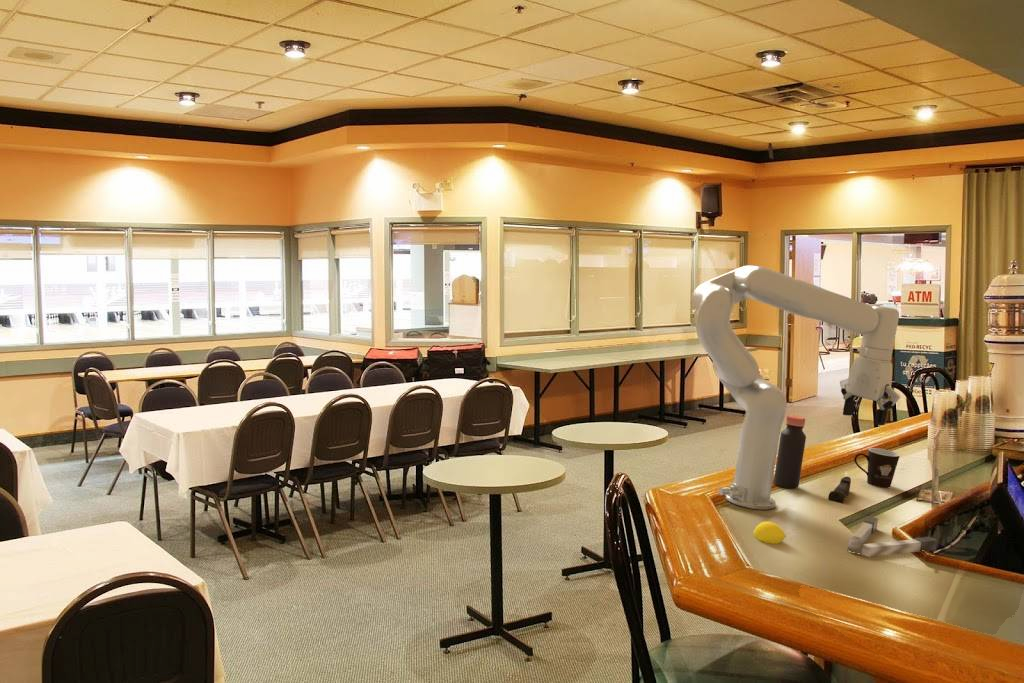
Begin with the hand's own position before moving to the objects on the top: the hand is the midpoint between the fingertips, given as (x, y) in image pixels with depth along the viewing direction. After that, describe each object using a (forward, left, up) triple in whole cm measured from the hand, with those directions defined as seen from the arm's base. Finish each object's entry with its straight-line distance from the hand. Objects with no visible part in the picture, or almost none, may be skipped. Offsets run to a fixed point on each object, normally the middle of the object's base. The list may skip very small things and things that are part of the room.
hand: (863, 419), depth 210 cm
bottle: (-1, +22, -25) cm, 33 cm away
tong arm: (-16, -18, -23) cm, 33 cm away
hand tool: (+8, +11, -25) cm, 29 cm away
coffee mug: (+32, +20, -25) cm, 45 cm away
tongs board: (-15, -22, -25) cm, 36 cm away
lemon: (-42, -15, -25) cm, 51 cm away
